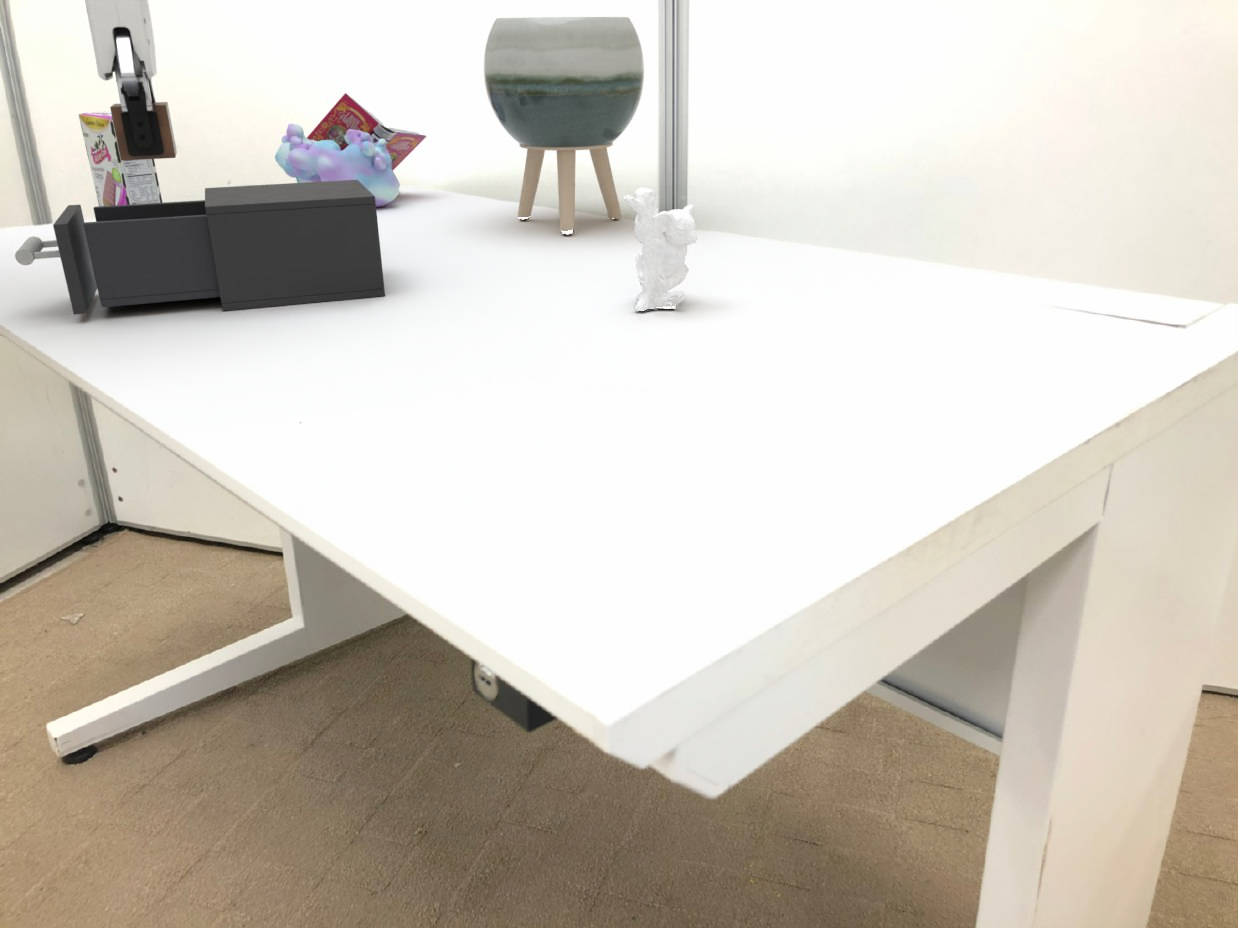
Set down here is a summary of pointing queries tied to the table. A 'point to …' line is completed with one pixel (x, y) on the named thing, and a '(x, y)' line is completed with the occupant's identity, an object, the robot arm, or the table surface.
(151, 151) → the robot arm
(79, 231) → the drawer
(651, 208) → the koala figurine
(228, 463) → the table surface
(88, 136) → the candy bar box
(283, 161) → the pastel bubbly blob
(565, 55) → the planter
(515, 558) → the table surface
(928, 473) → the table surface
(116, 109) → the block
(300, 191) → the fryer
